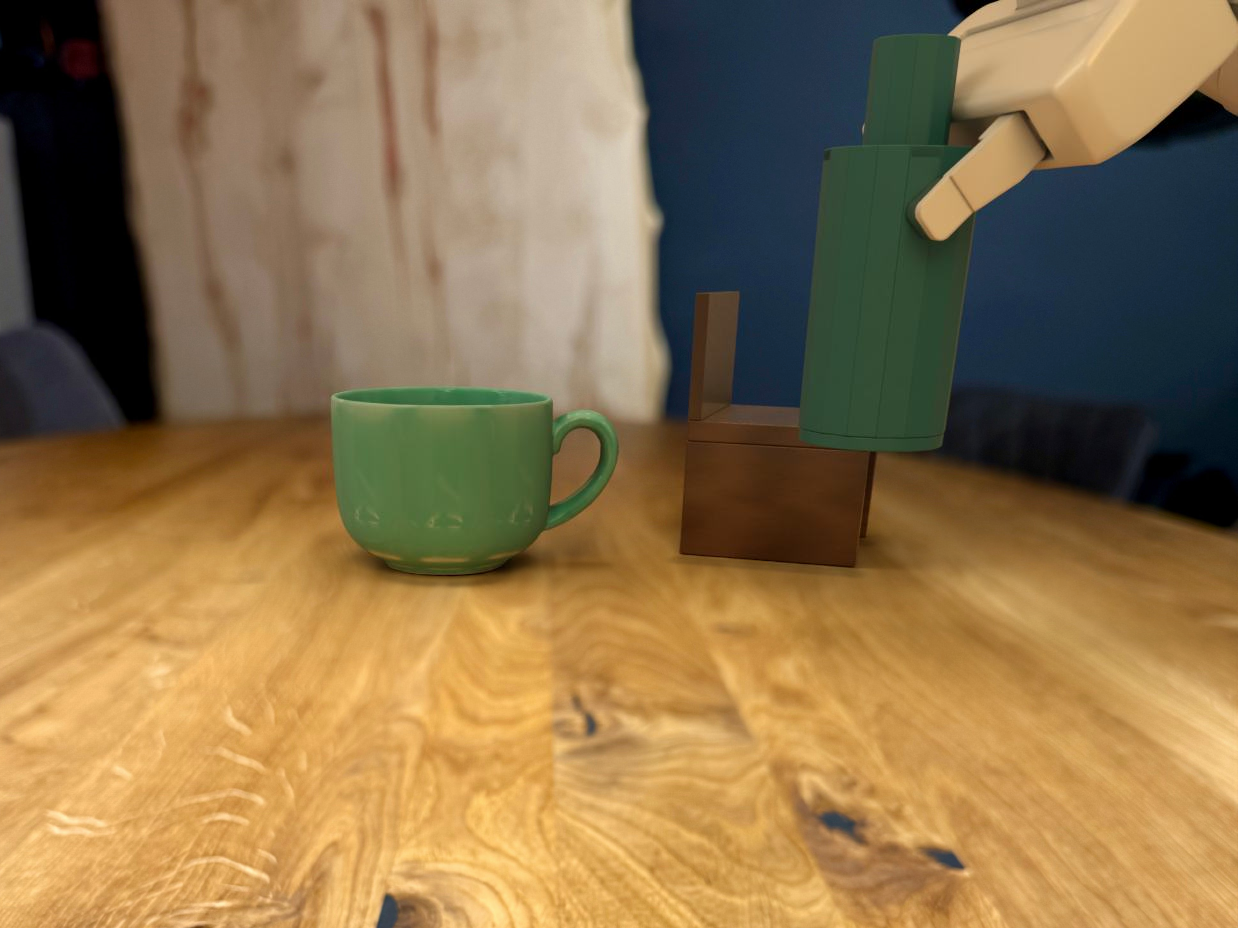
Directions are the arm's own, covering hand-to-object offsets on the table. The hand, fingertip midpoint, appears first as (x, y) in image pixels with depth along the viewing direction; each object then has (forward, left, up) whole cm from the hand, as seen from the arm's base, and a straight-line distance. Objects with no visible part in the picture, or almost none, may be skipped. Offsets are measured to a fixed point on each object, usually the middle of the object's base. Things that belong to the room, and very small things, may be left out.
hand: (881, 229), depth 58 cm
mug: (+18, -16, -18) cm, 30 cm away
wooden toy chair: (-2, -24, -18) cm, 30 cm away
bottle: (-1, 0, -9) cm, 9 cm away
